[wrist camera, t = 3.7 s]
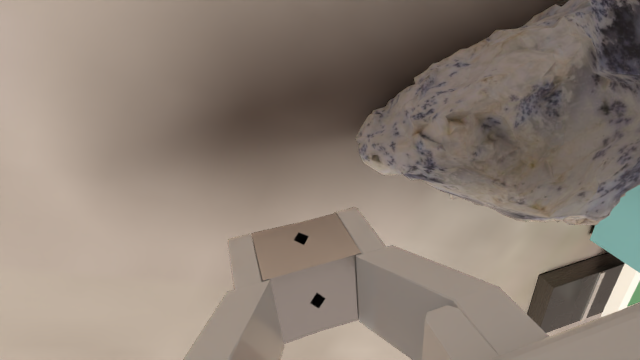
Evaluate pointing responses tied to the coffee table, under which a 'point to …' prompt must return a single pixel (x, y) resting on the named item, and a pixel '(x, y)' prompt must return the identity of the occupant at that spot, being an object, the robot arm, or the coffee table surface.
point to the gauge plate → (622, 247)
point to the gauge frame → (576, 292)
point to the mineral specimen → (525, 117)
